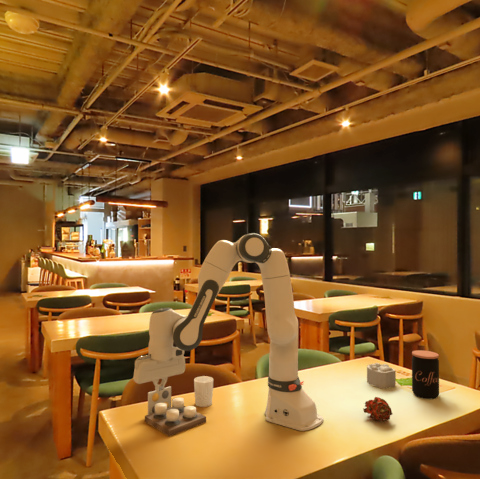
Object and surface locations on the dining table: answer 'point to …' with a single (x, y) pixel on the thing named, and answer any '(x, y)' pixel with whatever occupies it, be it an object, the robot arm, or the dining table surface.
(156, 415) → the board
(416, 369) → the coffee jar
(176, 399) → the button
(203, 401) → the white cup
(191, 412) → the button
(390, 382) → the grey toy brick
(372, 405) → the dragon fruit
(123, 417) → the dining table surface
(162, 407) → the button
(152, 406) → the card
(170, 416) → the button
